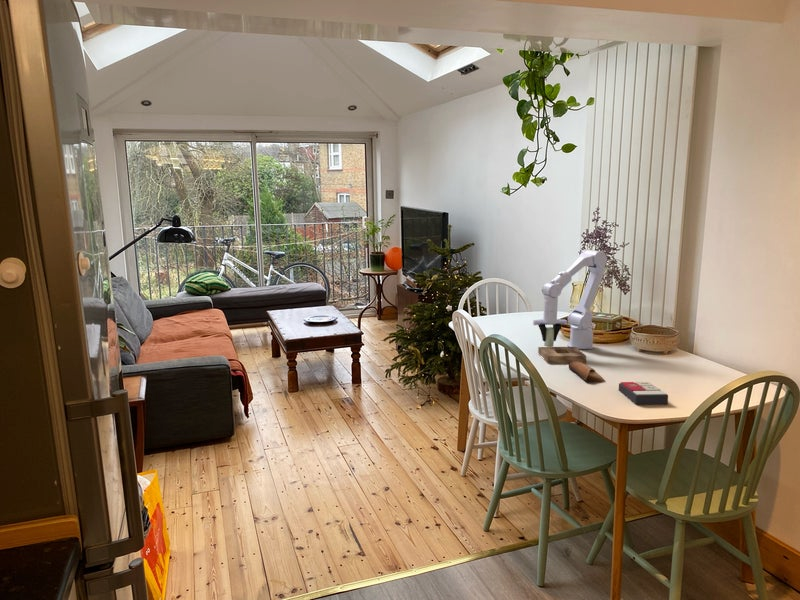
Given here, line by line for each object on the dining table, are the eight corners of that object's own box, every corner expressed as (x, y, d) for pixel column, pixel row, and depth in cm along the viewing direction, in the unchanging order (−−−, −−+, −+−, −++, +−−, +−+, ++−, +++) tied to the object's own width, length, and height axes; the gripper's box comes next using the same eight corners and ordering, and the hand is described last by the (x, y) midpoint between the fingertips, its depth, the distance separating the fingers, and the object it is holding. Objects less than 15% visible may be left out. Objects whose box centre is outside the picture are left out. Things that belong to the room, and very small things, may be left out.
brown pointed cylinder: (608, 382, 225) (600, 367, 223) (592, 392, 225) (584, 377, 223) (588, 367, 242) (580, 354, 241) (573, 376, 242) (565, 363, 241)
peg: (552, 344, 269) (552, 326, 267) (554, 346, 265) (555, 329, 264) (543, 344, 269) (543, 327, 267) (545, 346, 265) (546, 329, 263)
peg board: (574, 353, 263) (574, 346, 262) (585, 362, 249) (586, 355, 249) (538, 353, 262) (538, 347, 262) (547, 363, 248) (547, 356, 248)
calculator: (648, 380, 217) (668, 392, 202) (648, 392, 217) (668, 405, 203) (618, 381, 216) (636, 393, 201) (617, 392, 217) (635, 405, 202)
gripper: (563, 308, 268) (562, 338, 271) (531, 308, 267) (530, 338, 270) (569, 311, 261) (567, 342, 264) (535, 312, 260) (534, 342, 263)
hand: (549, 340), depth 266 cm, fingers closed on peg, 4 cm apart
